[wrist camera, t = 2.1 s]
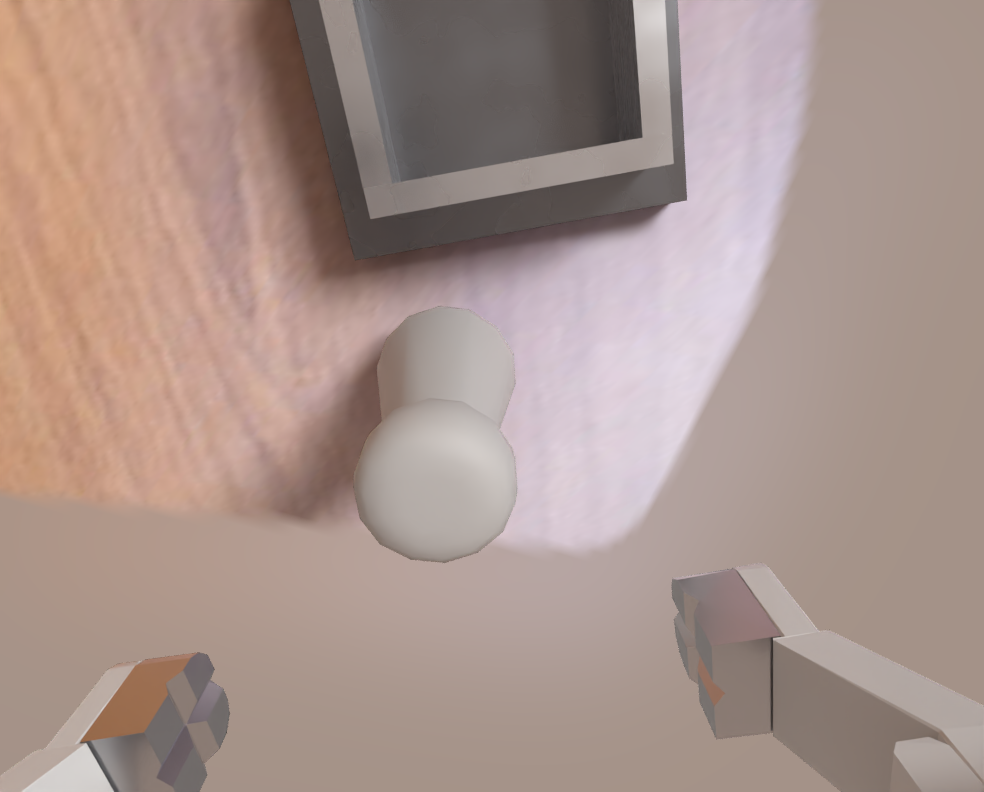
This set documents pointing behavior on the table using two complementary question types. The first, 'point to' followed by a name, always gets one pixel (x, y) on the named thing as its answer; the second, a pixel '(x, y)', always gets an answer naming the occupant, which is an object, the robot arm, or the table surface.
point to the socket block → (493, 113)
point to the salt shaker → (439, 438)
